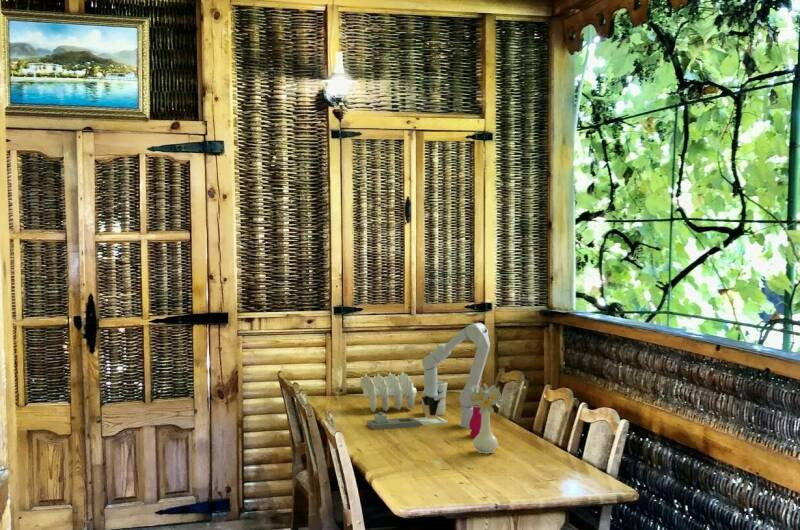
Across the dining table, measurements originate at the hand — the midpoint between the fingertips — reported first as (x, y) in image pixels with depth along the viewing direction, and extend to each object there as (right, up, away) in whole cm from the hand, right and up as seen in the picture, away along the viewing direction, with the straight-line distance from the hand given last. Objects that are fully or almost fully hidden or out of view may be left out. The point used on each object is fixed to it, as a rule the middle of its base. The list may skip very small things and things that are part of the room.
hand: (431, 414), depth 371 cm
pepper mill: (+18, -5, -25) cm, 31 cm away
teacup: (+3, -4, +17) cm, 18 cm away
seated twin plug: (-22, -4, -9) cm, 24 cm away
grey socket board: (-17, -4, -8) cm, 19 cm away
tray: (0, -4, 0) cm, 4 cm away
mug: (+5, -3, +49) cm, 50 cm away
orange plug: (0, -1, 0) cm, 1 cm away
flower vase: (+19, -5, -53) cm, 56 cm away
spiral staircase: (-18, -3, +28) cm, 33 cm away
